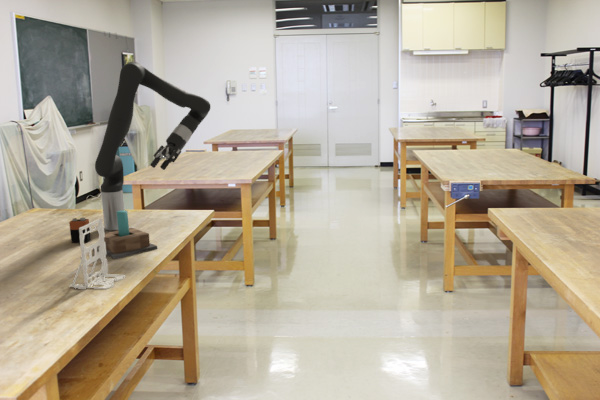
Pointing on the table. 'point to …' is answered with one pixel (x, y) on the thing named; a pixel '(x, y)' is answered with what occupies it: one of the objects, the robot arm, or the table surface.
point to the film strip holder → (100, 254)
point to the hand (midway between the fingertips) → (157, 167)
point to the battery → (74, 230)
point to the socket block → (127, 243)
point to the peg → (123, 223)
